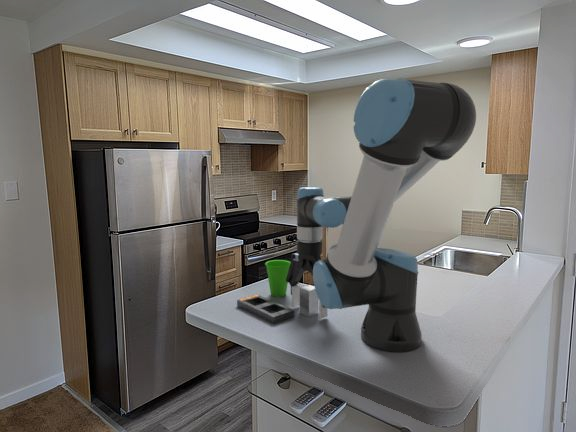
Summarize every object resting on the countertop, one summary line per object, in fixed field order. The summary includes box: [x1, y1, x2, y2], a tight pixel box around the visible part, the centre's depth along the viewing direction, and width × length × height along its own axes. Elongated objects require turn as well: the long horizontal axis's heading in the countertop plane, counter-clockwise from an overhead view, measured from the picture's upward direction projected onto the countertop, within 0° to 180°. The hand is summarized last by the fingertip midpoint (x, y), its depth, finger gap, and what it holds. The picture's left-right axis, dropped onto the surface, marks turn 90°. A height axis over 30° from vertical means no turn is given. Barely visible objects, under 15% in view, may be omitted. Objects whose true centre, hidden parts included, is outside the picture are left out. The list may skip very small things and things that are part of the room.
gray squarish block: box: [299, 284, 319, 318], centre depth 118 cm, size 4×4×8 cm
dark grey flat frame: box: [236, 294, 295, 325], centre depth 120 cm, size 18×8×2 cm, turn 42°
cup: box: [264, 259, 291, 298], centre depth 134 cm, size 9×9×11 cm
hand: (308, 311), depth 118 cm, fingers open, 11 cm apart
